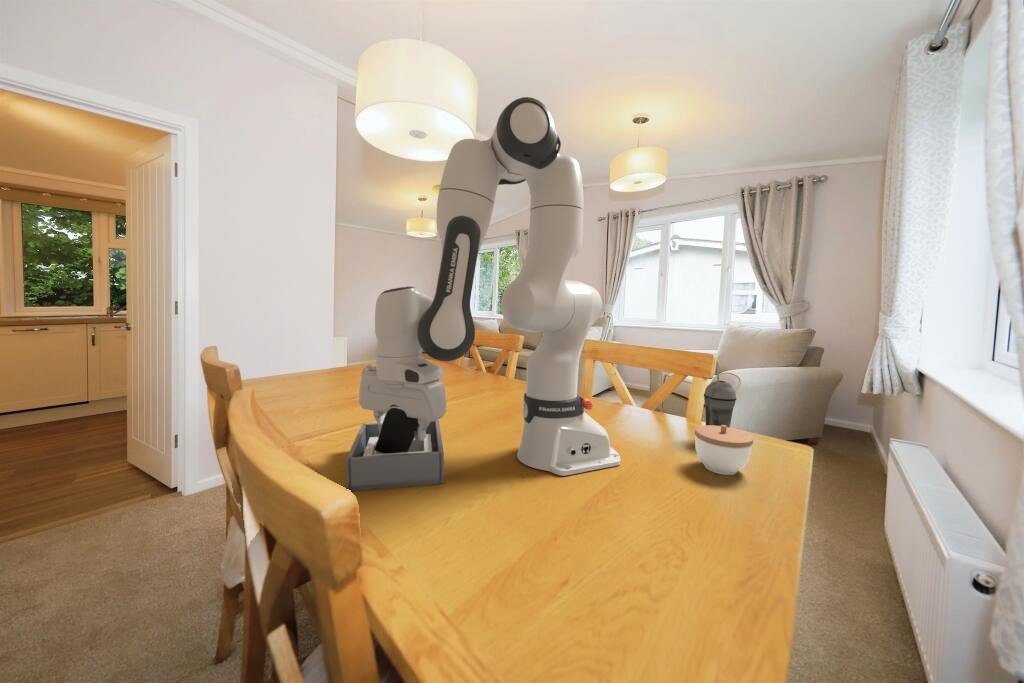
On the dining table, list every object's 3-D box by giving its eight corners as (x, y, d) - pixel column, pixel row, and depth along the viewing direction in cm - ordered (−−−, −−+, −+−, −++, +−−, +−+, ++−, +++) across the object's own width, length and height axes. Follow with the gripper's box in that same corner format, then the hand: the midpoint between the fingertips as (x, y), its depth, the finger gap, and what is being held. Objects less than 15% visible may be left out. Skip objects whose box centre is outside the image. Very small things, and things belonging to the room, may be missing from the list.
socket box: (438, 444, 92) (438, 420, 92) (443, 483, 73) (443, 452, 72) (362, 449, 89) (362, 423, 88) (346, 491, 69) (345, 459, 69)
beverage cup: (737, 448, 94) (744, 366, 92) (704, 445, 96) (710, 364, 93) (727, 438, 101) (733, 361, 99) (697, 435, 103) (702, 360, 101)
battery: (409, 449, 84) (425, 407, 80) (405, 461, 81) (422, 418, 77) (377, 439, 83) (392, 396, 79) (372, 451, 80) (387, 407, 75)
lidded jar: (762, 475, 79) (766, 431, 78) (724, 484, 75) (728, 437, 74) (716, 455, 89) (720, 416, 88) (681, 462, 85) (684, 420, 84)
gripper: (350, 366, 80) (353, 431, 82) (429, 376, 71) (431, 449, 72) (373, 362, 86) (375, 423, 87) (450, 370, 76) (451, 438, 78)
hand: (401, 435), depth 80 cm, fingers open, 8 cm apart
